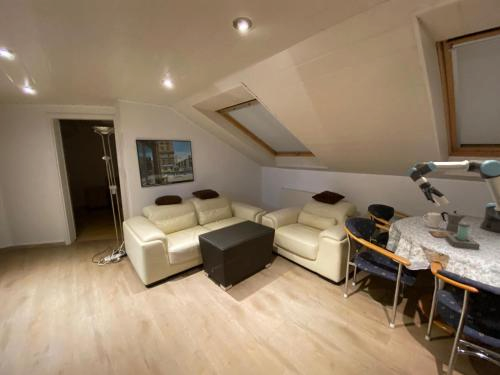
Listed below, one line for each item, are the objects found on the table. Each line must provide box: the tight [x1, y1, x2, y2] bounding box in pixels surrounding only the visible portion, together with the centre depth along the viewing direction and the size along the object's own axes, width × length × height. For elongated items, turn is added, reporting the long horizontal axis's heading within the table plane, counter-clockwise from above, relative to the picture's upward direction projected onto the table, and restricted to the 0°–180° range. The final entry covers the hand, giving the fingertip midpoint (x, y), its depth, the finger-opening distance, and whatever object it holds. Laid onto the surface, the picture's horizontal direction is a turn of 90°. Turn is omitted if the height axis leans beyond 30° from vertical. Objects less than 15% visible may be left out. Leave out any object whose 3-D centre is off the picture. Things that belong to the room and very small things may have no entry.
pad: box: [428, 230, 456, 239], centre depth 175 cm, size 16×12×1 cm
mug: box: [422, 212, 441, 229], centre depth 195 cm, size 12×8×12 cm
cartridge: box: [456, 221, 471, 241], centre depth 157 cm, size 6×6×17 cm
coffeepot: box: [440, 210, 466, 234], centre depth 182 cm, size 15×9×18 cm, turn 34°
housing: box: [445, 234, 481, 251], centre depth 158 cm, size 14×14×4 cm
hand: (443, 204), depth 167 cm, fingers open, 13 cm apart
